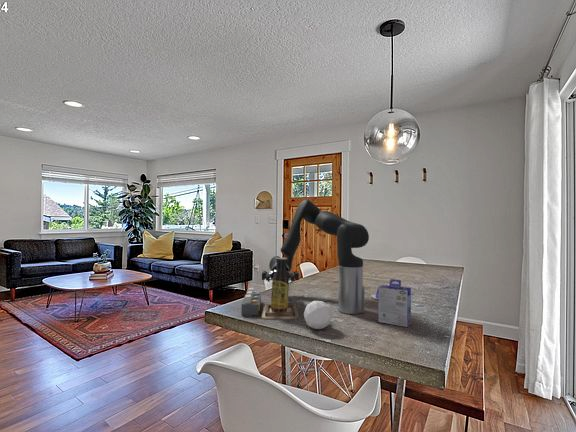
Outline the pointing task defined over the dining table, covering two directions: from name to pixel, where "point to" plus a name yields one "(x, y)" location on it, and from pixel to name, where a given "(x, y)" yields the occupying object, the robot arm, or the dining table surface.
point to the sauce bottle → (280, 287)
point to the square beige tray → (280, 313)
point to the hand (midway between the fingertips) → (280, 279)
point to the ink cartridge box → (394, 304)
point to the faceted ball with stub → (317, 315)
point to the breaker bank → (251, 303)
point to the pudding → (376, 294)
